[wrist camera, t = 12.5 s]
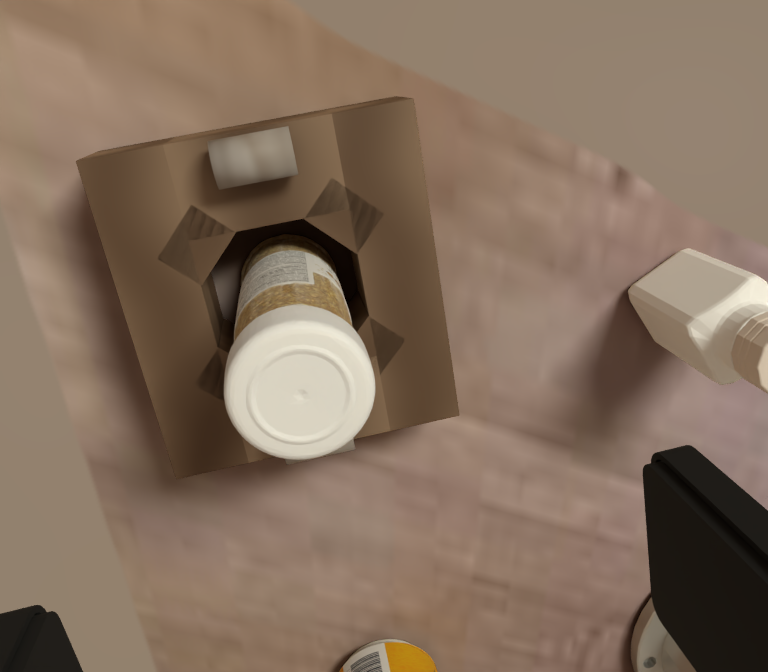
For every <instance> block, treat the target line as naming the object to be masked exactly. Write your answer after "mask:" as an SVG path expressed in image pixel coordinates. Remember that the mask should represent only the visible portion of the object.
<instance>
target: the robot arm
mask: <svg viewBox="0 0 768 672" xmlns="http://www.w3.org/2000/svg"><path fill="white" fill-rule="evenodd" d="M643 484H644V498H645V512H646V526H647V540H648V554H649V568H650V583H651V598H650V600H649V601H648V603H647V604H646V606H645V607H644V609H643V610H642V612H641V614H640V616H639V618H638V621H637V623H636V625H635V628H634V632H633V636H632V641H631V661H632V665H633V669H634V672H768V511H767V510H766V509H765V508H764V507H763V506H762V505H760V504H759V503H758V502H757V501H756V500H755V499H753V498H752V497H751V496H750V495H749V494H748V493H746V492H745V491H744V490H743V489H742V488H741V487H739V486H738V485H737V484H736V483H735V482H734V481H732V480H731V479H730V478H729V477H728V476H727V475H725V474H724V473H723V472H722V471H721V470H720V469H718V468H717V467H716V466H715V465H714V464H713V463H711V462H710V461H709V460H708V459H707V458H706V457H704V456H703V455H702V454H701V453H700V452H699V451H697V450H696V449H695V448H694V447H692V446H690V445H685V446H681V447H677V448H673V449H669V450H665V451H661V452H657V453H655V454H653V456H652V459H651V464H647V465H645V466H644V468H643ZM0 672H83V671H82V668H81V666H80V664H79V662H78V659H77V657H76V655H75V652H74V650H73V648H72V645H71V643H70V641H69V638H68V636H67V634H66V631H65V629H64V627H63V625H62V622H61V620H60V618H59V616H58V614H57V613H55V612H53V611H51V612H46V610H45V609H44V608H43V607H42V606H40V605H34V606H30V607H27V608H22V609H18V610H14V611H10V612H6V613H2V614H0Z"/></svg>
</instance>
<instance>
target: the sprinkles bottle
mask: <svg viewBox="0 0 768 672" xmlns="http://www.w3.org/2000/svg"><path fill="white" fill-rule="evenodd" d="M374 398H375V377H374V372H373V368H372V365H371V361H370V358H369V355H368V353H367V350H366V348H365V345H364V343H363V341H362V339H361V338H360V336H359V335H358V334H357V332H356V331H355V330H354V328H353V326H352V321H351V316H350V313H349V309H348V306H347V303H346V300H345V297H344V294H343V291H342V288H341V285H340V283H339V280H338V275H337V271H336V267H335V265H334V262H333V261H332V259H331V257H330V256H329V254H328V253H327V251H326V250H325V249H324V248H323V247H322V246H320V245H319V244H317V243H316V242H315V241H313V240H311V239H308V238H306V237H303V236H298V235H289V234H282V235H279V236H275V237H271V238H269V239H267V240H265V241H263V242H261V243H260V244H259V245H258V246H256V247H255V248H254V249H253V250H252V251H251V252H250V254H249V256H248V258H247V259H246V261H245V263H244V266H243V269H242V272H241V290H240V295H239V302H238V308H237V315H236V322H235V329H234V344H233V345H232V347H231V349H230V352H229V355H228V358H227V363H226V369H225V377H224V400H225V406H226V410H227V413H228V415H229V418H230V420H231V422H232V424H233V425H234V427H235V428H236V430H237V431H238V432H239V434H240V435H241V436H242V437H243V438H244V439H245V440H246V441H247V442H249V443H250V444H251V445H253V446H254V447H255V448H257V449H259V450H260V451H263V452H265V453H267V454H269V455H272V456H275V457H279V458H284V459H291V460H304V459H311V458H317V457H320V456H324V455H326V454H329V453H331V452H333V451H335V450H337V449H339V448H341V447H342V446H344V445H345V444H347V443H348V442H349V441H350V440H352V439H353V438H354V437H355V435H356V434H357V433H358V432H359V431H360V430H361V429H362V427H363V425H364V424H365V422H366V421H367V419H368V417H369V415H370V412H371V410H372V407H373V403H374Z"/></svg>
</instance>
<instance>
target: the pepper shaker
mask: <svg viewBox="0 0 768 672" xmlns="http://www.w3.org/2000/svg"><path fill="white" fill-rule="evenodd" d="M628 295H629V299H630V302H631V303H632V305H633V307H634V308H635V310H636V312H637V313H638V315H639V317H640V318H641V320H642V321H643V323H644V325H645V326H646V328H647V330H648V331H649V333H650V334H651V336H652V338H653V339H654V341H655V342H656V343H658V344H659V345H661V346H662V347H664V348H665V349H667V350H668V351H670V352H671V353H673V354H674V355H676V356H677V357H679V358H680V359H682V360H683V361H685V362H686V363H688V364H689V365H691V366H692V367H694V368H695V369H697V370H698V371H699V372H701V373H702V374H704V375H705V376H707V377H708V378H710V379H711V380H713V381H714V382H716V383H718V384H720V385H724V384H731V383H734V382H736V381H738V380H740V379H742V378H743V379H745V380H747V381H748V382H750V383H751V384H754V385H755V386H756V387H758V388H760V389H761V390H763V391H764V392H766V393H767V394H768V284H767V282H766V281H765V280H763V279H762V278H760V277H759V276H757V275H755V274H753V273H750V272H748V271H745V270H743V269H740V268H738V267H735V266H733V265H730V264H728V263H725V262H723V261H720V260H718V259H715V258H713V257H710V256H708V255H705V254H702V253H700V252H697V251H695V250H692V249H690V248H689V249H684V250H681V251H678V252H677V253H675V254H674V255H673V256H671V257H670V258H669V259H667V260H666V261H664V262H663V263H662V264H660V265H659V266H658V267H656V268H655V269H653V270H652V271H651V272H649V273H648V274H647V275H645V276H644V277H642V278H641V279H640V280H638V281H637V282H636V283H634V284H633V285H632V286H631V287H630V288H629V290H628Z"/></svg>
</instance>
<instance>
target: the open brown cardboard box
mask: <svg viewBox="0 0 768 672" xmlns="http://www.w3.org/2000/svg"><path fill="white" fill-rule="evenodd" d="M76 163H77V167H78V170H79V173H80V176H81V179H82V182H83V186H84V189H85V192H86V195H87V198H88V201H89V205H90V208H91V211H92V214H93V217H94V220H95V224H96V227H97V230H98V233H99V236H100V239H101V243H102V246H103V249H104V252H105V255H106V258H107V262H108V265H109V268H110V271H111V274H112V277H113V281H114V284H115V287H116V290H117V293H118V296H119V300H120V303H121V306H122V309H123V312H124V315H125V319H126V322H127V325H128V328H129V331H130V334H131V338H132V341H133V344H134V347H135V350H136V353H137V357H138V360H139V363H140V366H141V369H142V372H143V376H144V379H145V382H146V385H147V388H148V392H149V395H150V398H151V401H152V404H153V407H154V411H155V414H156V417H157V420H158V423H159V426H160V430H161V433H162V436H163V439H164V442H165V445H166V449H167V452H168V455H169V458H170V461H171V464H172V468H173V471H174V474H175V477H176V479H179V478H184V477H188V476H193V475H197V474H202V473H206V472H210V471H215V470H219V469H224V468H228V467H233V466H237V465H242V464H246V463H250V462H255V461H259V460H264V459H268V458H273V457H275V456H272V455H269V454H267V453H265V452H263V451H260V450H259V449H257V448H255V447H254V446H253V445H251V444H250V443H249V442H247V441H246V440H245V439H244V438H243V437H242V436H241V435H240V434H239V432H238V431H237V430H236V428H235V427H234V425H233V424H232V422H231V420H230V418H229V415H228V413H227V410H226V406H225V400H224V377H225V369H226V363H227V358H228V355H229V352H230V349H231V347H232V345H233V344H234V329H235V324H233V323H231V322H229V321H228V320H226V319H223V316H222V312H221V308H220V305H219V301H218V297H217V293H216V289H215V286H214V282H213V278H212V274H211V270H212V269H213V267H214V266H215V264H216V263H217V261H218V260H219V258H220V256H221V255H222V253H223V252H224V250H225V249H226V247H227V246H228V244H229V243H230V241H231V239H232V238H233V236H234V235H235V233H236V232H237V231H242V230H248V229H253V228H258V227H263V226H268V225H273V224H278V223H283V222H288V221H293V220H298V219H303V218H304V220H306V221H307V222H309V223H311V224H312V225H314V226H315V227H317V228H318V229H320V230H321V231H323V232H324V233H326V234H327V235H329V236H330V237H332V238H333V239H335V240H336V241H338V242H339V243H341V244H342V245H344V246H345V247H347V248H348V249H350V250H351V256H352V261H353V266H354V272H355V277H356V282H357V288H358V291H357V292H356V293H355V295H354V296H353V298H352V299H351V300H350V302H349V303H348V305H347V306H348V309H349V313H350V316H351V321H352V326H353V328H354V330H355V331H356V332H357V334H358V335H359V336H360V338H361V339H362V341H363V343H364V345H365V348H366V350H367V353H368V355H369V358H370V361H371V365H372V368H373V372H374V377H375V398H374V403H373V407H372V410H371V412H370V415H369V417H368V419H367V421H366V422H365V424H364V425H363V427H362V429H361V430H360V431H359V432H358V433H357V434H356V435H355V437H354V438H353V439H357V438H362V437H366V436H370V435H375V434H379V433H384V432H388V431H393V430H397V429H402V428H406V427H410V426H415V425H419V424H424V423H428V422H433V421H437V420H442V419H446V418H450V417H455V416H459V409H458V402H457V395H456V388H455V381H454V374H453V367H452V360H451V353H450V346H449V339H448V333H447V326H446V319H445V312H444V305H443V298H442V291H441V284H440V277H439V270H438V263H437V257H436V250H435V243H434V236H433V229H432V222H431V215H430V208H429V201H428V194H427V187H426V180H425V174H424V167H423V160H422V153H421V146H420V139H419V132H418V125H417V118H416V111H415V104H414V99H413V98H405V97H397V96H396V97H390V98H385V99H379V100H374V101H369V102H363V103H358V104H352V105H347V106H341V107H336V108H331V109H325V110H320V111H314V112H309V113H303V114H298V115H293V116H287V117H282V118H276V119H271V120H265V121H260V122H255V123H249V124H244V125H238V126H233V127H227V128H222V129H217V130H211V131H206V132H200V133H195V134H189V135H184V136H178V137H173V138H168V139H162V140H157V141H151V142H146V143H140V144H135V145H130V146H124V147H119V148H113V149H108V150H102V151H98V152H96V153H93V154H91V155H89V156H86V157H84V158H82V159H79V160H77V161H76ZM353 439H352V440H350V441H349V442H348V443H347V444H345V445H344V446H342V447H341V448H339V449H337V450H335V451H333V452H331V453H329V454H326V455H324V456H320V457H325V456H329V455H334V454H338V453H342V452H347V451H351V450H355V445H354V440H353ZM320 457H317V458H320ZM312 459H316V458H311V459H304V460H291V459H285V461H286V464H287V465H289V464H294V463H298V462H303V461H307V460H312Z"/></svg>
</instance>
